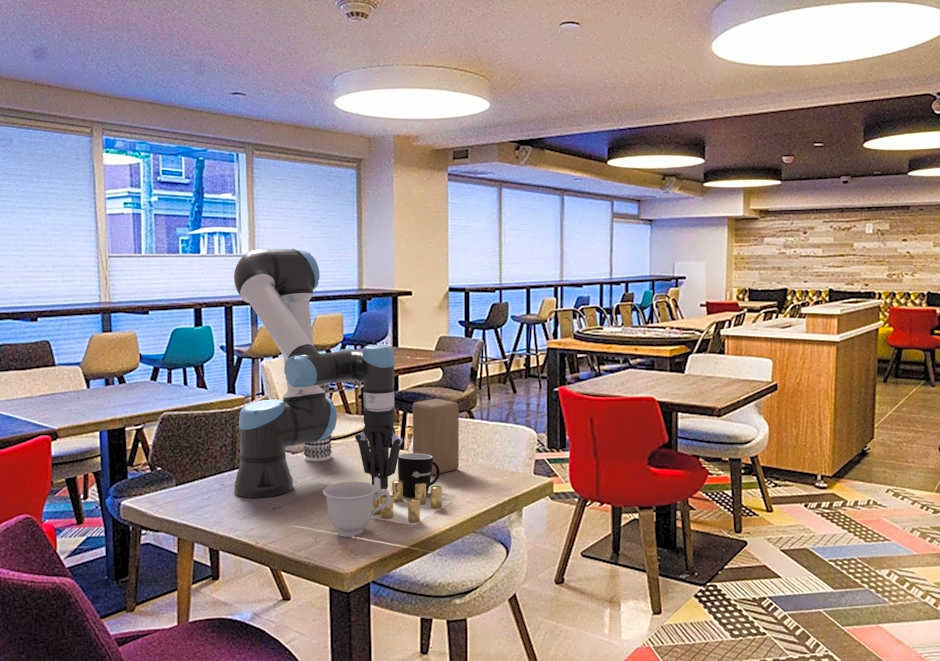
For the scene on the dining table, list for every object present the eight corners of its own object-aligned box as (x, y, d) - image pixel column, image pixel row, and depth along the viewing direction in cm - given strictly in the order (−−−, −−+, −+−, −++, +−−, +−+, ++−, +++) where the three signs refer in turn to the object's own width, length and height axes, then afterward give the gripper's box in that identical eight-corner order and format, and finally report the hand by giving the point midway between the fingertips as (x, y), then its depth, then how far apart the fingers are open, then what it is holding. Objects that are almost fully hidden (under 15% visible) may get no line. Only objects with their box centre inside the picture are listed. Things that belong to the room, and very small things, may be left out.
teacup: (389, 541, 166) (389, 496, 165) (320, 543, 164) (319, 498, 163) (391, 522, 178) (390, 480, 177) (326, 524, 176) (325, 482, 175)
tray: (331, 512, 184) (331, 510, 184) (374, 491, 201) (374, 489, 201) (414, 526, 174) (414, 525, 174) (451, 503, 191) (451, 501, 191)
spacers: (343, 512, 184) (343, 491, 183) (378, 494, 197) (378, 475, 197) (415, 524, 175) (415, 503, 175) (445, 505, 189) (445, 485, 188)
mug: (407, 500, 190) (409, 460, 190) (390, 493, 198) (391, 454, 198) (447, 496, 197) (449, 457, 197) (428, 489, 205) (430, 451, 205)
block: (437, 463, 229) (437, 397, 227) (460, 469, 222) (459, 402, 220) (411, 469, 223) (411, 401, 221) (433, 476, 215) (433, 406, 213)
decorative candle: (336, 454, 240) (334, 375, 238) (328, 461, 231) (326, 380, 228) (308, 453, 241) (306, 375, 238) (298, 461, 232) (296, 380, 229)
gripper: (348, 408, 186) (349, 502, 188) (393, 413, 180) (394, 510, 182) (365, 403, 192) (366, 494, 195) (409, 407, 187) (410, 501, 189)
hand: (379, 501), depth 188 cm, fingers closed
